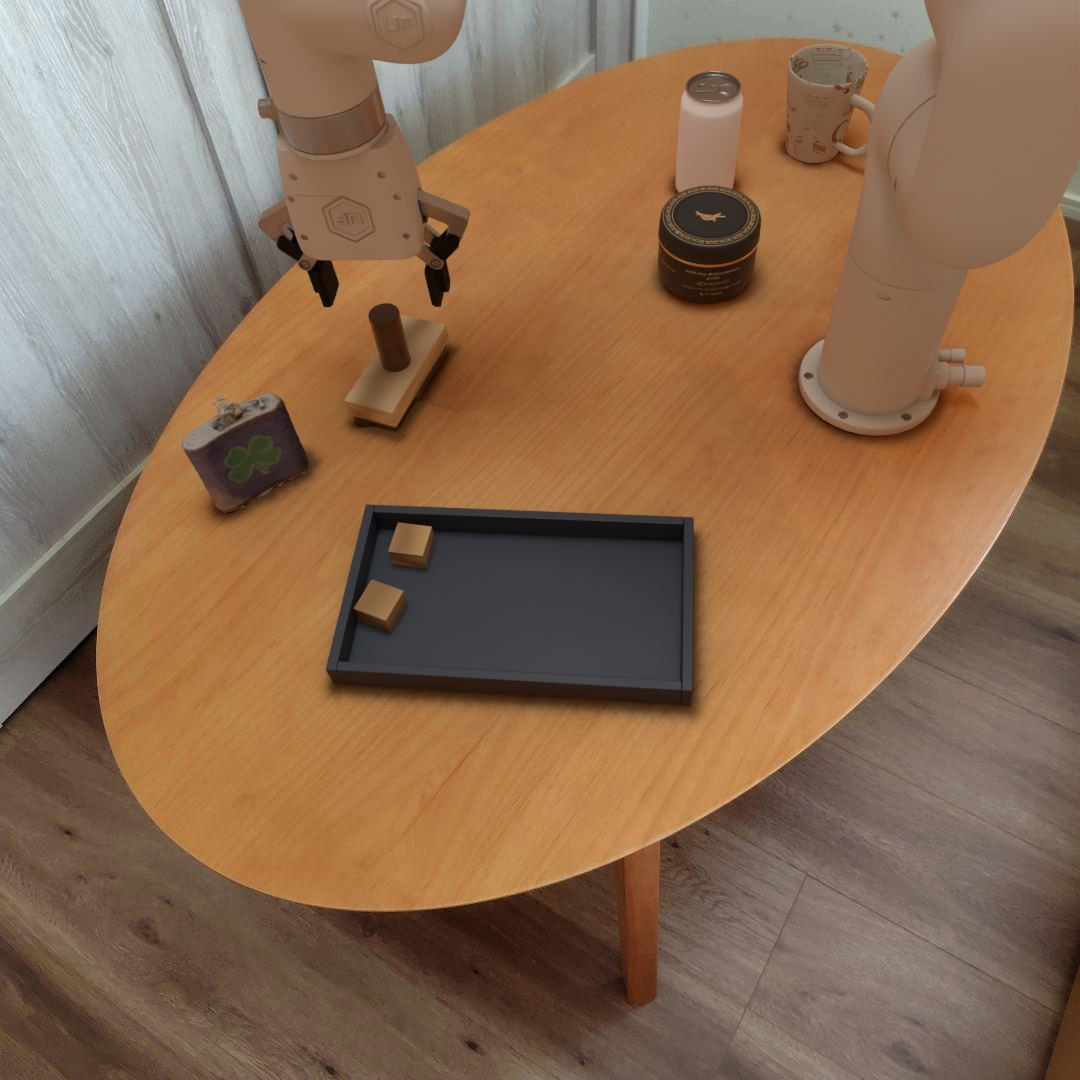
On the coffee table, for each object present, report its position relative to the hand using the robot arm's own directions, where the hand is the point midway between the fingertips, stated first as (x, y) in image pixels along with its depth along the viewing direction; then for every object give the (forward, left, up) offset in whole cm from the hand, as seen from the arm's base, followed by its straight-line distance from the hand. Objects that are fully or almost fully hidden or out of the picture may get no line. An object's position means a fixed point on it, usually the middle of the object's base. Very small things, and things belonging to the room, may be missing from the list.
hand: (385, 296), depth 82 cm
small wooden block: (-2, +25, -11) cm, 28 cm away
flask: (+12, +12, -12) cm, 21 cm away
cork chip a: (-4, +19, -11) cm, 23 cm away
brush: (+1, 0, -12) cm, 12 cm away
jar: (-28, -17, -12) cm, 35 cm away
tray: (-13, +24, -12) cm, 30 cm away
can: (-28, -32, -12) cm, 44 cm away
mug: (-42, -38, -12) cm, 58 cm away
